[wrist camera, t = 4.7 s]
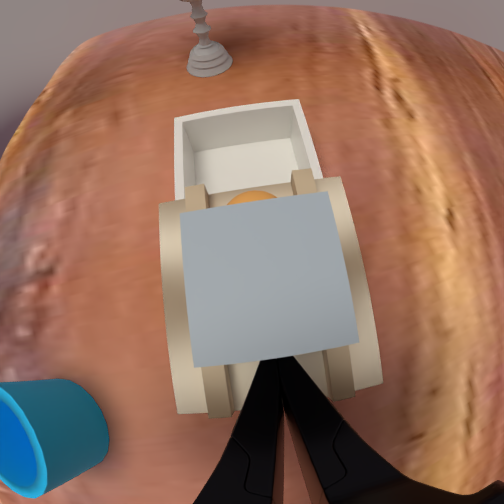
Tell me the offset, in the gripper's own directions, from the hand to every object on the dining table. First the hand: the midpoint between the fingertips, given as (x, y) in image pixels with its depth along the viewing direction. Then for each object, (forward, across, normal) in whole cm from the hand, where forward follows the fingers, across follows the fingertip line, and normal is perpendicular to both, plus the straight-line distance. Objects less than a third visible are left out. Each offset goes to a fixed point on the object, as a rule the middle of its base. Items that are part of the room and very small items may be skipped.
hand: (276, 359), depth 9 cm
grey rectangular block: (+4, 0, +1) cm, 5 cm away
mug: (+4, +19, +11) cm, 23 cm away
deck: (+10, 0, +6) cm, 11 cm away
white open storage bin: (+16, 0, -1) cm, 16 cm away
